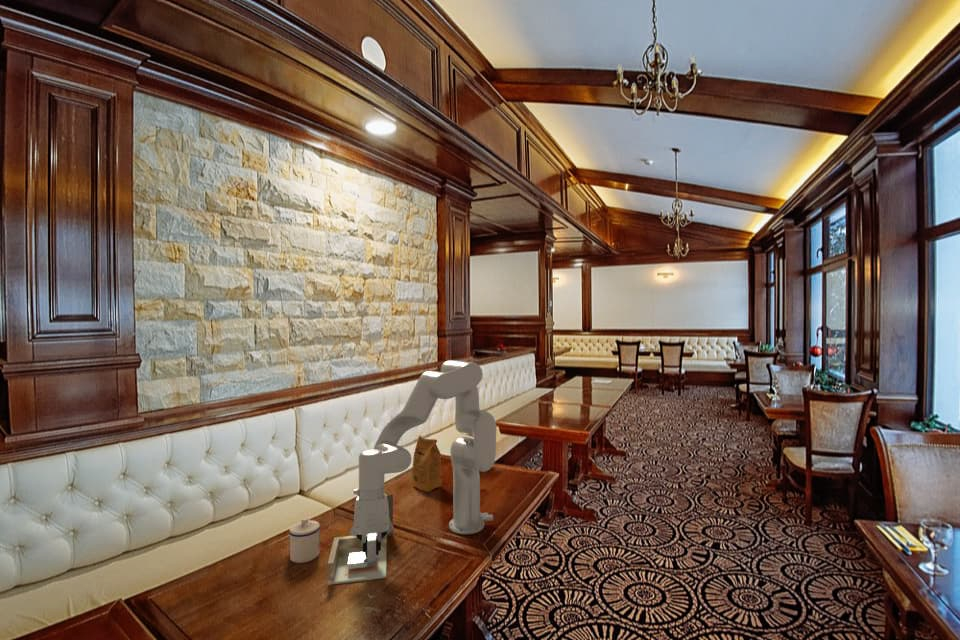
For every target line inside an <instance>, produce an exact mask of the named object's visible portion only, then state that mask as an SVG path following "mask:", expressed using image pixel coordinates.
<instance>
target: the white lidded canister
mask: <svg viewBox="0 0 960 640" xmlns="http://www.w3.org/2000/svg"><path fill="white" fill-rule="evenodd" d="M320 529H321V525H320V523H319V522H318V521H316V520H311V519H309V518H308V517H303V518H301V521H299V522H296V523H295V524H293V525H292V526H291V527H289V531H288V533H289V559H290V561H291V562H293V563H297V564H302V563H308V562H310V561H313V560H315V559H316V558H317V557H318V556H319V554H320V553H321V550H320V548H321V547H320V544H321V543H320V540H321V539H320Z"/></svg>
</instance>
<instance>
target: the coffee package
mask: <svg viewBox="0 0 960 640" xmlns="http://www.w3.org/2000/svg"><path fill="white" fill-rule="evenodd" d="M437 443H438V440H437V439H435V438H424V437H423V436H422V435H418V438H417V440H416V445H415V448H414V453H413V458H412V459H413V460H412V470H411V471H412V472H411V473H412V487H413V488H417V489H418V490H419V491H421V492H422V491H423V492H427V493H429V492H432V490H435V489H436V488H440V486H442V484H441V483H442V482H441V479H442V477H441V473H442V470H441V469H442V468H441V467H442V454H441V452H440V449H439V448H438V445H437Z"/></svg>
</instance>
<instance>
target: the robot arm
mask: <svg viewBox="0 0 960 640" xmlns="http://www.w3.org/2000/svg"><path fill="white" fill-rule="evenodd" d="M483 374H484V373H483V369H482V368H481V365H479V364H478V363H476V362H473V361H464V360H457V359H454V360H453V359H448V360H446V361H444V362H443V363H442V365H441V367H440V371H438V370H437V371H436V370H428V371H425V372H423V373H422V374H421V375H420V376H419V378H418V380H417V382H416V384H415V386H414V387H413V389H412V392H411V393H410V395H409V397H408V399H407V401H406V403H405V405H404V407H403V408H402V410H401V411H400V412H399V413H397V415H395V416H394V417H393V418H392V419H391V420H390V421H389V422H388V423H387V424H386V425H385V426H384V427H383V429H382V430H381V432H380V435H379V436H378V438H377V440H376V442H375V444H374V447H373V448H372V449H370V448H369V449H365V450H363V451H361V452H360V453H359V455H358V488H356V489H353V495H357V497H356V499H355V503H354V511H353V512H354V514H353V524H352V527H351V529H350V531H349V536H356V537H357V538H358V539H359V540H361V541H362V543H363V552H365V557H366V556H367V537H366V534H372V533H377V538H376V555H378V552H379V551H381V540H382V539H383V538H384V536H385V535H386V534H387V533H389V532H391V531H393V532H394V524H393V525H392V523H391V521H390V520H389V506H388V499H387V496H388V495H387V494H386V493H385V492H386V491H385V475H386V474H396V473H397V474H399V473H402V472H404V471H405V470H407V469H408V468H409V467H410V465H411V463H412V455H411V453H410V451H409V450H408V449H407V448H405V447H402V446H400V445H398V444H399V442H400V439H401V438H402V437H403V435H405V434H406V432H408V431H409V430H410V429H411V430H412V429H413V428H415V427H418V426H420V425H423V424H424V423H426V422H427V421H428V419H429V417H430V414H431V413H432V410H433V408H434V406H435V404H436V402H437V400H438V399H441V400H450V399H453V398H455V399H454V400H455V412H454V413H455V414H454V415H455V416H454V424H455V428H456V431H457V432H459V433H460V434H463V435H465V436H460V437H458V438H456V439H454V440H453V442H452V444H451V446H450V452H449V453H450V460H451V461H450V462H451V466H452V475H453V476H452V478H453V479H452V483H453V485H452V488H453V489H452V490H453V492H452V494H453V495H452V496H453V497H452V500H453V501H452V502H453V503H452V504H453V505H452V506H453V509H452V510H453V511H452V512H453V513H452V514H453V518H452V519H451V520H450V521H448V527H449V530H450V531H451V532H453V533H455V534H459V535H474V534H477V533H479V532H481V531H483V529H484V528H485V521H488V522H490V521H493V520H494V515H493V514H489V513H488V512H481V502H480V501H481V495H480V494H481V487H480V485H481V482H480V481H481V476H480V472H483V473H485V472H488V471H489V470H491V468H492V467H493V466H494V464H495V461H496V456H497V455H496V454H497V452H496V451H497V423H496V419H495V417H494V416H493V414H492V413H490V412H488V411H485V410H481V408H480V395H479V389H478V385H479V384H480V383H481V381H482V378H483ZM466 436H467V437H466ZM468 436H469V437H468ZM471 437H472V438H471Z"/></svg>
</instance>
